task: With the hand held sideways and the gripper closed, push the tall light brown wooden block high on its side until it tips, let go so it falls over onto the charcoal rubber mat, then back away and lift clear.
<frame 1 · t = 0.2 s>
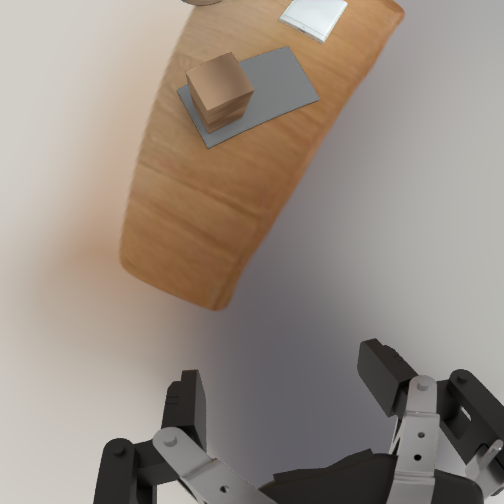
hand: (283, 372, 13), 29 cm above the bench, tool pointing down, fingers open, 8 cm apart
rubber mat: (249, 92, 36), on the bench
hard drive: (313, 13, 34), on the bench
light brown wooden block: (217, 111, 35), point 1 cm above the bench, touching rubber mat
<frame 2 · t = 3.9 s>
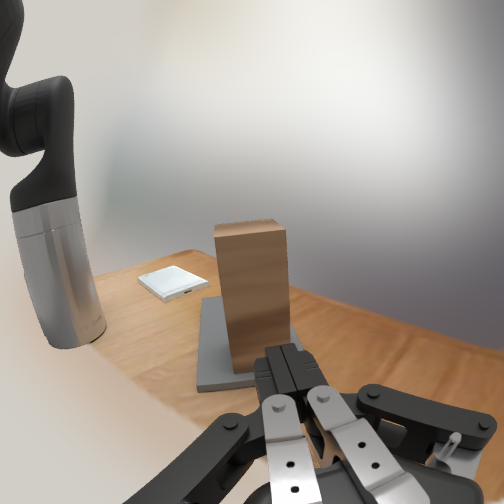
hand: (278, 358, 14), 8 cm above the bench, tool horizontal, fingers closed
rubber mat: (245, 332, 31), on the bench
hard drive: (172, 288, 47), on the bench
light brown wooden block: (258, 354, 25), point 1 cm above the bench, touching rubber mat
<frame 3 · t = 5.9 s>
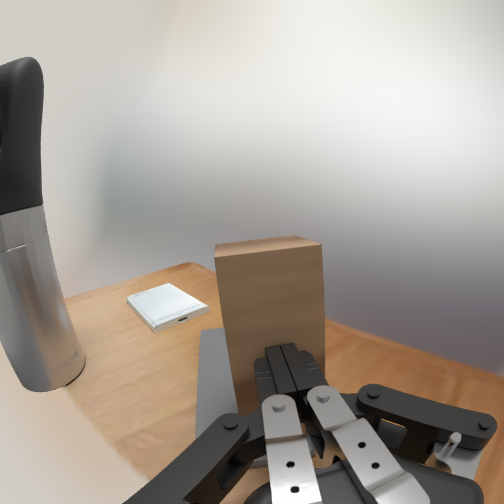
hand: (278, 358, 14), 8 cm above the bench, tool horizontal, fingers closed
rubber mat: (256, 381, 23), on the bench
hard drive: (165, 311, 39), on the bench
light brown wooden block: (277, 416, 17), point 1 cm above the bench, tilted 6°, touching rubber mat
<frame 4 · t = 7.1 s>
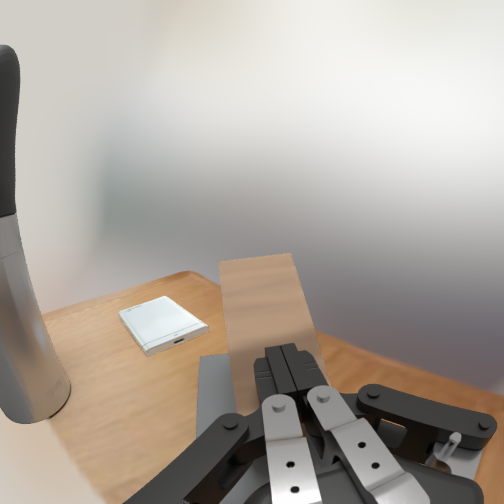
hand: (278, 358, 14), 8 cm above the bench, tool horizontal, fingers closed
rubber mat: (265, 422, 18), on the bench
hard drive: (160, 329, 35), on the bench
light brown wooden block: (288, 441, 13), point 3 cm above the bench, tilted 58°, touching rubber mat
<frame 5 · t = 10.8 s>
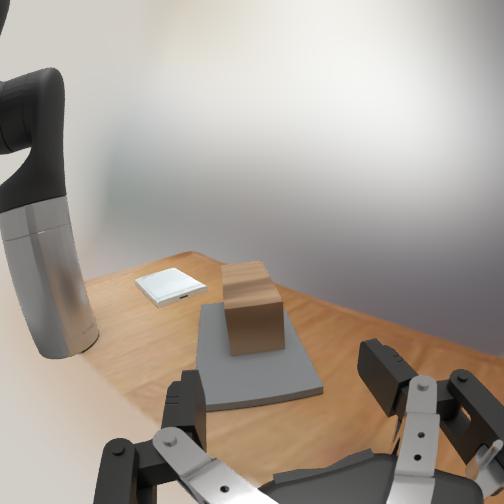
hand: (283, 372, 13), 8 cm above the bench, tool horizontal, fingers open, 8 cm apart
rubber mat: (247, 343, 28), on the bench
hard drive: (169, 291, 45), on the bench
light brown wooden block: (256, 330, 24), point 3 cm above the bench, tilted 90°, touching rubber mat
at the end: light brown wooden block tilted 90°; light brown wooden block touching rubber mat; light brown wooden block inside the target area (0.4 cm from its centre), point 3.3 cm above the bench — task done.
